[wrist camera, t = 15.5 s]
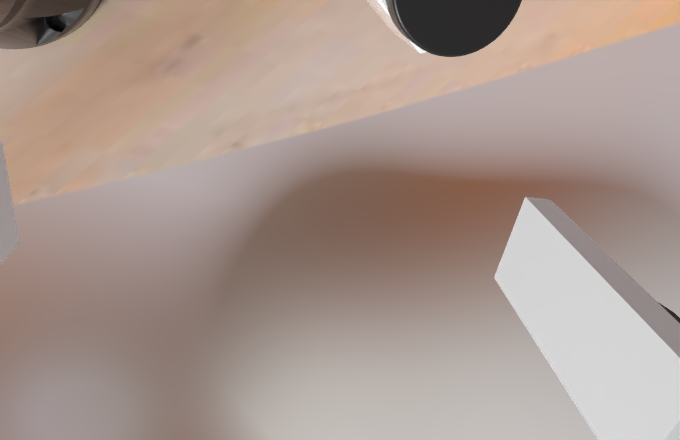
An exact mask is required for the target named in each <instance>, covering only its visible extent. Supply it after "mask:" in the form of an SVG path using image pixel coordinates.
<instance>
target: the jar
mask: <svg viewBox="0 0 680 440" xmlns="http://www.w3.org/2000/svg"><path fill="white" fill-rule="evenodd" d="M521 1H522V0H367V2H368V3H369V4H370V5H371V7H372V8H373V9H374V10H375V11H376V13H377V14H378V15H379V16H380V18H381V19H382V20H383V21H384V22H385V24H386V25H387V26H388V27H389V28H390V30H391V31H392V32H393V33H394V34H396V35H397V36H398V37H400V38H401V39H402V40H403V41H405V42H406V43H407V44H409V45H410V46H411V47H412V48H414V49H415V50H416V51H418V52H419V53H426V52H429V53H431V54H434V55H438V56H444V57H456V56H463V55H467V54H470V53H473V52H476V51H478V50H480V49H482V48H484V47H485V46H487V45H489V44H490V43H491V42H493V41H494V40H495V39H496V38H497V37H498V36H500V35H501V34H502V32H503V31H504V30H505V29H506V28H507V27H508V25H509V24H510V22H511V21H512V19H513V18H514V16H515V14H516V13H517V11H518V8H519V6H520V4H521Z"/></svg>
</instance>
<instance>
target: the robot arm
mask: <svg viewBox="0 0 680 440" xmlns="http://www.w3.org/2000/svg"><path fill="white" fill-rule="evenodd" d="M100 1H101V0H0V48H3V49H25V48H33V47H38V46H42V45H45V44H48V43H51V42H53V41H56V40H58V39H60V38H63V37H65V36H67V35H69V34H71V33H72V32H74V31H75V30H77V29H78V28H79V27H81V26H82V25H83V24H84V23H85V22H86V21H87V20H88V19H89V18H90V16H91V15H92V14H93V12H94V11H95V10H96V8H97V6H98V5H99V3H100ZM17 244H19V238H18V232H17V226H16V220H15V215H14V208H13V203H12V197H11V191H10V185H9V179H8V173H7V167H6V161H5V155H4V149H3V144H2V141H0V265H1V264H2V263H3V262H4V260H5V259H6V258H7V257H8V256H9V254H10V253H11V252H12V251H13V250H14V248H15V247H16V246H17ZM494 278H495V280H496V281H497V283H498V284H499V286H500V288H501V289H502V291H503V292H504V294H505V295H506V297H507V298H508V300H509V302H510V303H511V305H512V306H513V307H514V309H515V311H516V312H517V314H518V316H519V317H520V319H521V320H522V322H523V323H524V325H525V326H526V328H527V330H528V331H529V333H530V334H531V336H532V337H533V339H534V341H535V342H536V344H537V345H538V347H539V348H540V350H541V352H542V353H543V355H544V356H545V358H546V359H547V361H548V362H549V364H550V366H551V367H552V369H553V370H554V372H555V373H556V375H557V376H558V378H559V379H560V381H561V383H562V384H563V386H564V387H565V389H566V391H567V392H568V394H569V395H570V397H571V398H572V400H573V402H574V403H575V405H576V406H577V408H578V409H579V411H580V412H581V414H582V415H583V417H584V418H585V420H586V422H587V423H588V425H589V426H590V428H591V430H592V431H593V433H594V434H595V436H596V437H597V439H598V440H680V318H679V317H678V316H677V315H676V314H675V313H674V312H672V311H671V310H669V309H668V308H666V307H664V306H663V305H661V304H660V303H658V302H657V301H656V300H655V299H654V298H652V296H651V295H650V294H649V293H647V292H646V291H645V290H644V289H643V288H642V287H641V286H640V285H639V284H638V283H637V282H636V281H635V280H634V279H633V278H632V277H631V276H630V275H629V274H628V273H627V272H625V271H624V270H623V269H622V268H621V267H620V266H619V265H618V264H617V263H616V262H615V261H614V260H613V259H612V258H611V257H610V256H609V255H608V254H607V253H606V252H605V251H604V250H603V249H602V248H600V247H599V246H598V245H597V244H596V243H595V242H594V241H593V240H592V239H591V238H590V237H589V236H588V235H587V234H586V233H585V232H584V231H583V230H582V229H580V228H579V226H577V225H576V224H575V223H574V222H573V221H572V220H571V219H570V218H569V217H568V216H567V215H566V214H565V213H564V212H563V211H562V210H561V209H560V208H558V206H557V205H555V204H554V203H553V202H552V201H551V200H550V199H540V198H531V197H525V199H524V202H523V204H522V207H521V210H520V212H519V215H518V217H517V220H516V222H515V225H514V228H513V230H512V233H511V235H510V238H509V241H508V243H507V246H506V248H505V251H504V254H503V256H502V259H501V262H500V264H499V267H498V269H497V272H496V274H495V277H494Z"/></svg>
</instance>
